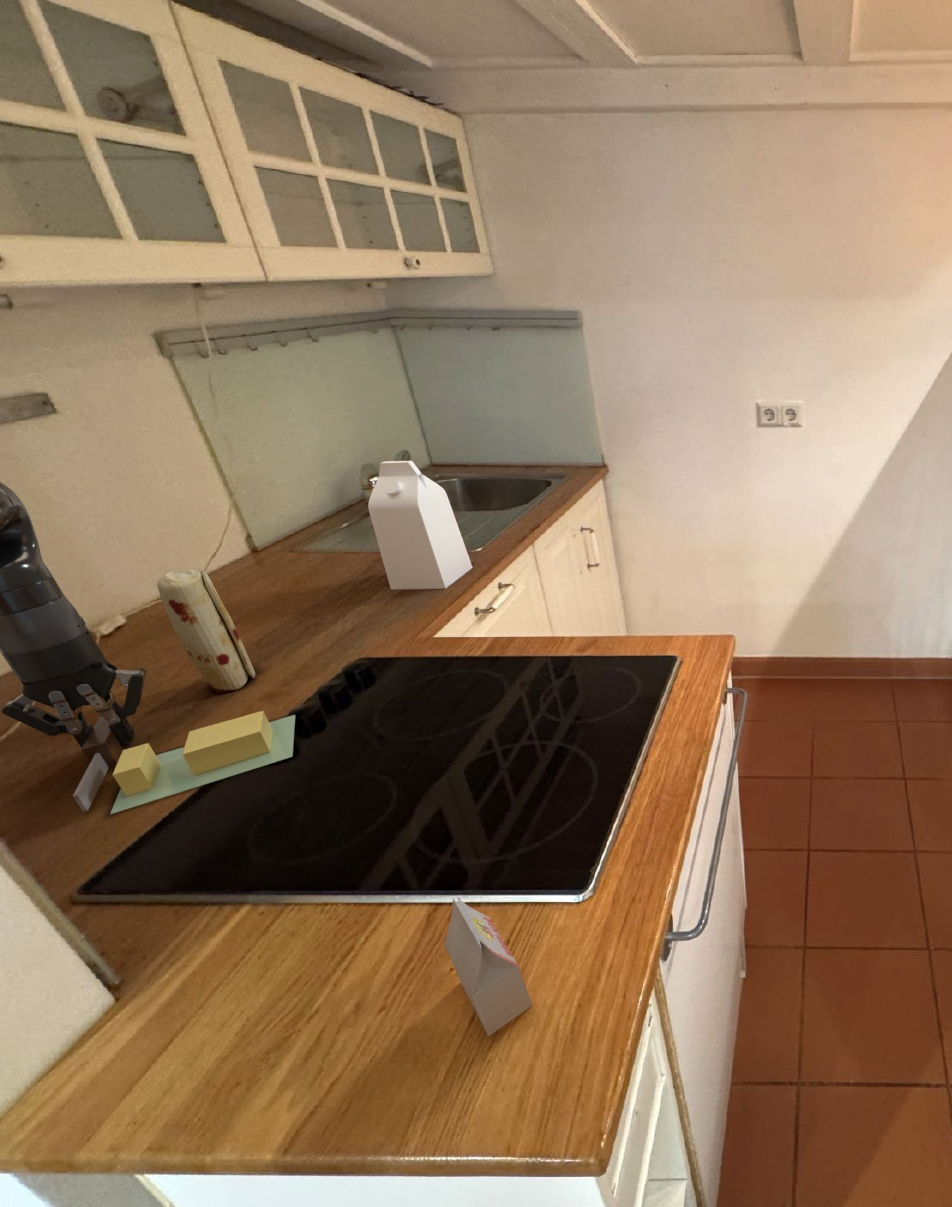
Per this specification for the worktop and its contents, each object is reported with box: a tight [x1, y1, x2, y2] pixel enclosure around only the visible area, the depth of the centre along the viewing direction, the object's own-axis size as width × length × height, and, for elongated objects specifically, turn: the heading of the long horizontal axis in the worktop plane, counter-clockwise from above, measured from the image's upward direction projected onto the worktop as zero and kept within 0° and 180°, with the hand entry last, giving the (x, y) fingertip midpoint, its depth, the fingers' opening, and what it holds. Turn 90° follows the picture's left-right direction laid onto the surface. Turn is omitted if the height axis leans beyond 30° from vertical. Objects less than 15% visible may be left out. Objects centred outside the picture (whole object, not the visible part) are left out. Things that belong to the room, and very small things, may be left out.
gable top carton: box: [444, 895, 533, 1037], centre depth 56 cm, size 4×7×10 cm, turn 44°
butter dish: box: [109, 714, 296, 815], centre depth 88 cm, size 18×12×1 cm, turn 125°
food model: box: [156, 568, 256, 694], centre depth 103 cm, size 10×7×20 cm
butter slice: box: [112, 742, 161, 796], centre depth 84 cm, size 2×6×4 cm, turn 35°
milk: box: [367, 460, 473, 591], centre depth 140 cm, size 12×12×26 cm
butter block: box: [182, 710, 273, 775], centre depth 89 cm, size 8×6×4 cm
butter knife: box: [72, 715, 128, 813], centre depth 85 cm, size 2×19×4 cm, turn 35°
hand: (113, 747), depth 89 cm, fingers closed on butter knife, 2 cm apart
